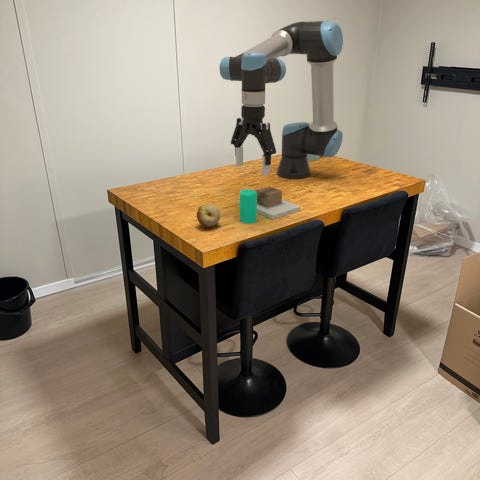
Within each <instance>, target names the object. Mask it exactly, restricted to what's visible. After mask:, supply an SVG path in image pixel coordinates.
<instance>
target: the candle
mask: <svg viewBox="0 0 480 480" xmlns="http://www.w3.org/2000/svg"><path fill="white" fill-rule="evenodd" d="M239 200H240V205H239V222H241V223H243V224H254V223H256V222H257V219H258V216H257V215H258V213H257V192H256V191H255V190H254V189H250V188H249V187H247V188H246V189H241V190H240V191H239Z"/></svg>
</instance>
